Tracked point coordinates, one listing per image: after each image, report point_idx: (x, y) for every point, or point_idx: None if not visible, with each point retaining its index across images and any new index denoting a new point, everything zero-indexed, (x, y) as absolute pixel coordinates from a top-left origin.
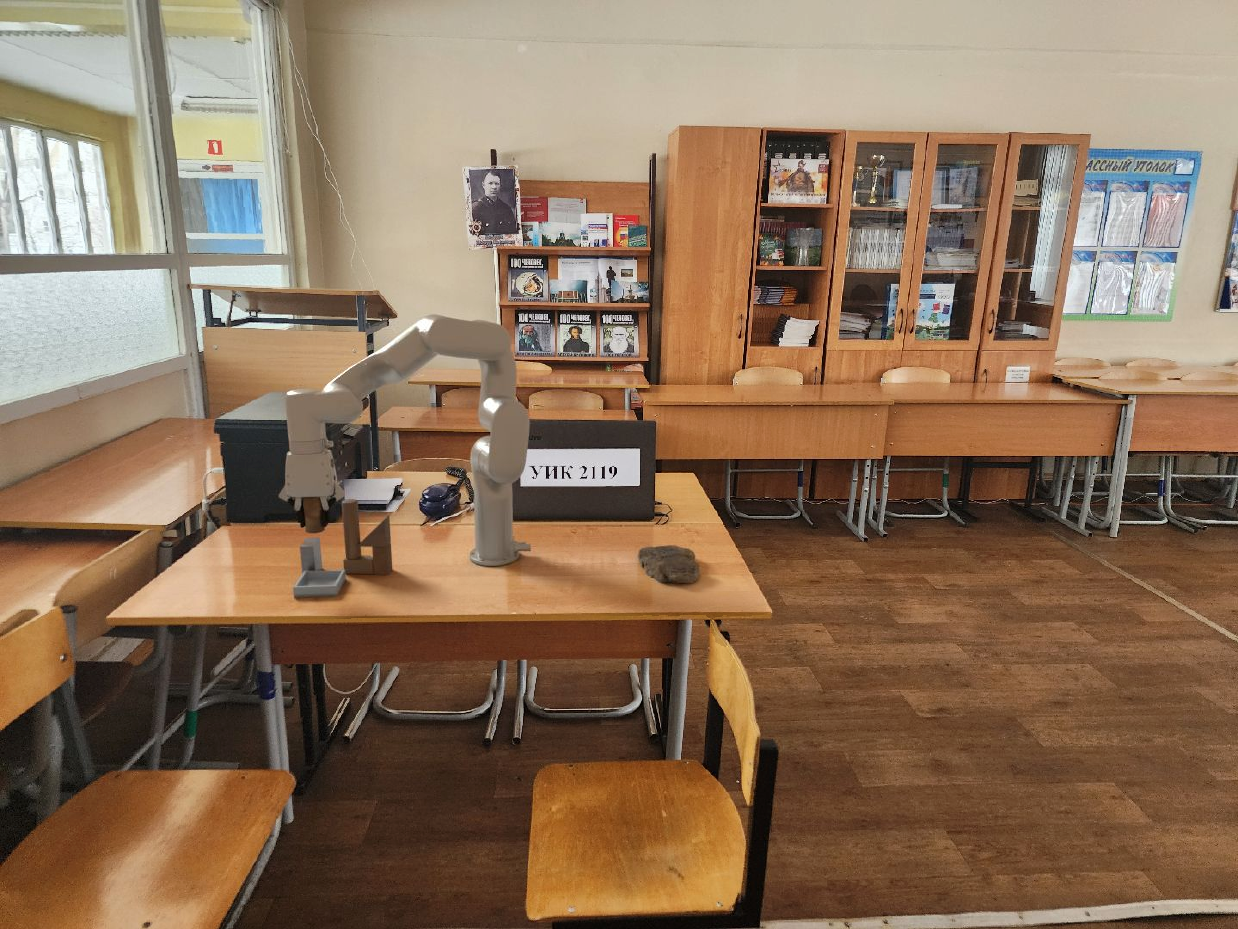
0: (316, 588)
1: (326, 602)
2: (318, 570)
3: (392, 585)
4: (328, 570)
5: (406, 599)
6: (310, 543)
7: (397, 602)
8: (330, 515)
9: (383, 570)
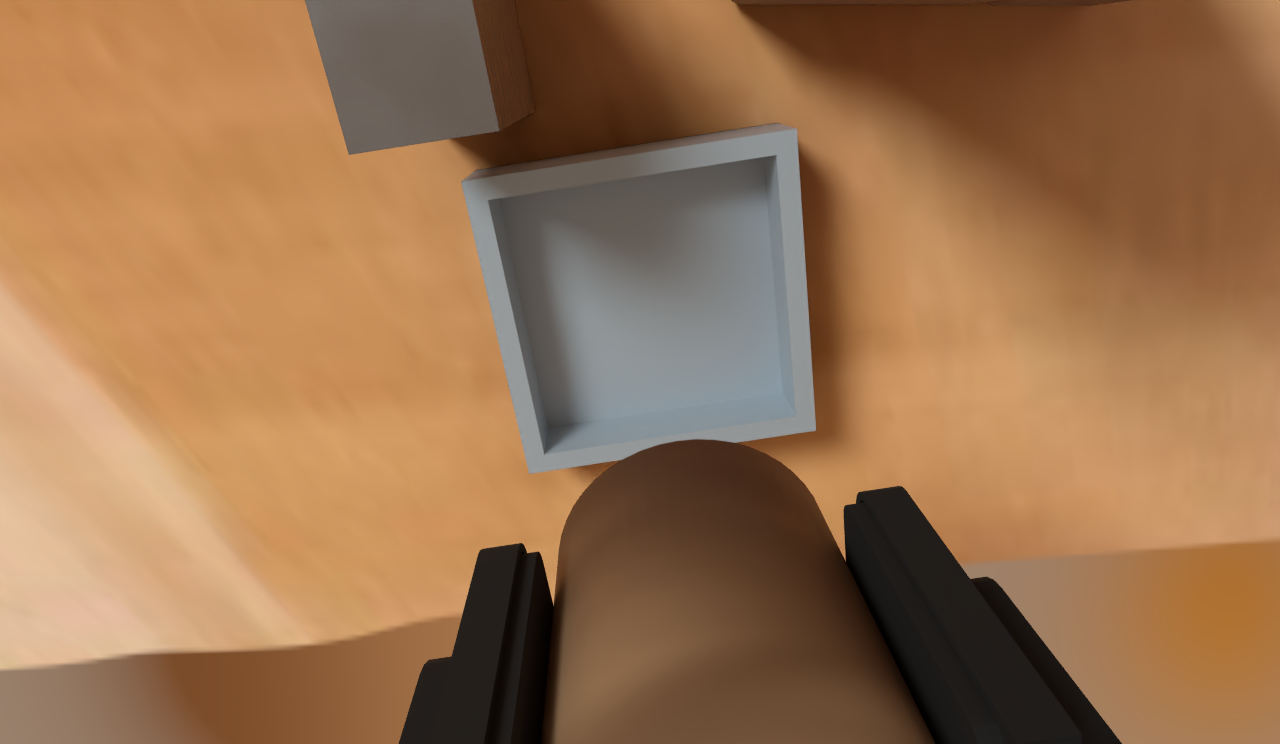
0: None
1: None
2: (514, 15)
3: (1137, 201)
4: (661, 156)
5: (1233, 402)
6: (416, 28)
7: (1179, 444)
8: (1034, 633)
9: (1082, 2)
